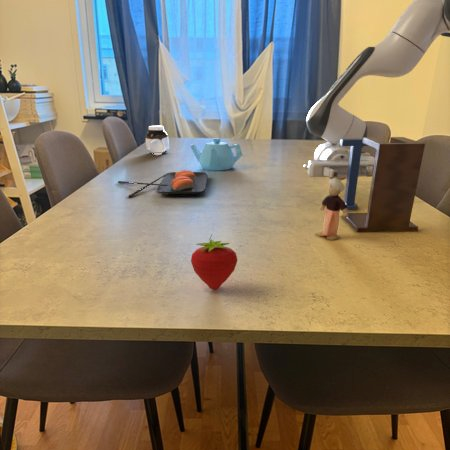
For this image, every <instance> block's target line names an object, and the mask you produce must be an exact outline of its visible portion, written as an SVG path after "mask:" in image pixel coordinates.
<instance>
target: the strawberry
mask: <svg viewBox="0 0 450 450" xmlns="http://www.w3.org/2000/svg"><path fill="white" fill-rule="evenodd" d="M212 236H213V234H211V235H210V237H209V240H208V241H209V242H202V243H199V242H198V243H196V246H200V247H198V248H196V249H195V250H194V251H193V252H192V254H191V258H190V263H191V266H192V269H193V271H194V273H195V274H196V275H197V276H198V277H199V279H200V280H201V281H202V282H203V283H204V284H206V286H207V287H208V288H209V289H211V290H213V291H216V290H218V289H219V288H220V287H221V285H223V284H224V283H226V281H227V280H228V279H229V278H230V276H231V275H232V274H233V273H234V271H235V269H236V266H237V263H238V256H237V253H236V252H235V250H233V249H232V248H230V247H228V246H227V245H230V242H222V240H216V241H214V240H213V239H212Z"/></svg>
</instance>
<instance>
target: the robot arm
mask: <svg viewBox="0 0 450 450" xmlns="http://www.w3.org/2000/svg"><path fill="white" fill-rule="evenodd" d="M439 36H441V37H448V38H450V0H413V1H412V2H411V3H410V4H409V5H408V7H406V9H405V10H404V11H403V13H402V14H401V15H400V16H399V17H398V19H397V20H396V22H395V23H394V25H393V27H391V29H390V31H389V32H388V33H387V35H386V36H385V37H384V38H383V40H381V41H380V42H379V43H377V44H376V45H374V46H368V47H366V48H364V49H363V50H362V51H361V52H360V53H359V54H358V55H357V56H356V57H355V58H354V59H353V60H352V62H351V63H350V64H349V65H348V66H347V68H345V70H344V71H342V73H341V75H339V77H338V78H337V80H335V82H334V83H333V84H332V85H331V87H329V89H328V90H327V91H326V93H324V94H323V96H322V97H321V98H319V100H318V101H317V102H316V103H315V104H314V105H313V106H312V107H311V108H310V110H309V111H308V114H307V116H306V119H305V122H306V127H307V129H308V132H309V134H312V135H313V136H316V137H318V138H322V139H323V140H324V141H326V142H323V143H322V144H319V145H318V147H316V149H315V151H314V154H313V159H310V160H308V163H305V164H303V168H304V169H305V170H307V175H308V177H310V178H328V179H330V180H331V179H339V180H340V181H341V182H342V181H344V180H347V173H348V164H349V156H350V148H351V146H341V145H340V139H363V137H368V125H367V122H366V121H364V120H362V119H361V118H360V117H358V116H356V115H354V114H353V113H351V112H349V111H347V110H346V109H345V108H343V107H342V106H340V105H339V103H340V101H342V99H343V98H344V97H345V96H346V95H347V94H348V93H349V91H350V90H351V89H352V88H353V87H354V85H355V84H356V83H357V82H358V81H359V80H360V79H362V78H365V77H368V76H375V77H382V78H383V77H384V78H390V79H391V78H394V79H395V78H400V77H404V76H406V75H408V74H409V73H411V72H412V71H413V70H414V69H415V67H416V66H417V65H418V64H419V63H420V62H421V60H422V58H423V57H424V55H425V54H426V52H427V51H428V50H429V48H430V46H431V45H432V44H433V43H434V42H435V40H436V39H437V38H438V37H439ZM363 148H364V146H362V149H363ZM375 157H376V156H372V155H371V154H370V152H366V151H361V158H360V165H359V173H358V178H359V177H367V178H372V177H373V170H374V163H375Z"/></svg>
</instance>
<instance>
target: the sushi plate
mask: <svg viewBox="0 0 450 450" xmlns="http://www.w3.org/2000/svg"><path fill="white" fill-rule="evenodd" d="M159 180H161V181H160V183H156V182H157V181H159ZM207 181H208V173H207V172H205V171H191V170H187V169H185V170H180V171H173V172H171V171H170V172H167V173H165V174H163V175H162V176H160V177H158V178H157V179H155V180H153V181H151V182H150V183H148V182H137V181H136V182H135V181H133V182H134V183H137V184H136V185H145V186H142V187H140V189H141V190H139V189H137V190H136V191H134V192H132V193H130V194H129V195H128V196H127V197H128V198H129V199H130V198H132V197H134V196H135V195H137V194H139V193H140V192H143V190H145V189H146V188H148V187H150V186H158V187H157V188H156V192H157V193H158V194H164V195H166V194H167V195H168V196H171V197H189V196H190V197H191V196H195V195H197V194H201V193H204V192H205V191H206V190H207V189H206V188H207ZM129 182H130V181H125V180H118V181H117V183H118V184H129V185H135V184H134V183H129ZM147 186H148V187H147ZM145 187H146V188H145ZM142 188H143V189H142Z"/></svg>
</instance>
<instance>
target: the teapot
mask: <svg viewBox="0 0 450 450" xmlns="http://www.w3.org/2000/svg"><path fill="white" fill-rule="evenodd" d="M212 140H213V141H211V142H206V143H205V144H204V146H203V148H202V150H201V152H200V150H199V149H198V148H197V146H196V145H195V144H190V145H189V146H190V148H191V150H192V152H193V155H194V156H195V158H196V160H197V162H198V163H199V165H200V167H201V168H202V169H203V170H206V171H217V172H218V171H227V170H231V169H233V167H234V166H235V164H236V162H237V161H238V160H240V159H241V158H242V157H243V153H242V149H241V145H240V143H234V144H229V143H228V142H225V141H221V138H220V137H214V138H213V139H212ZM232 149H235V152H236V155H234V152H233V150H232Z"/></svg>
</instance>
